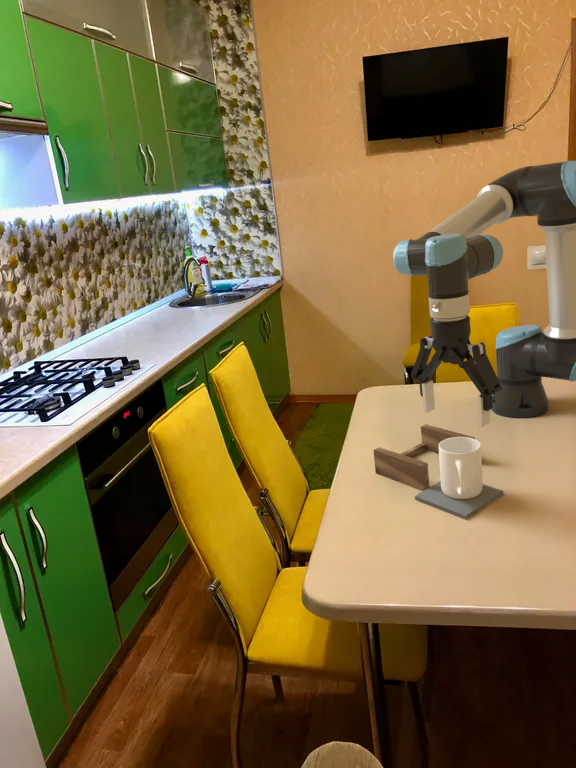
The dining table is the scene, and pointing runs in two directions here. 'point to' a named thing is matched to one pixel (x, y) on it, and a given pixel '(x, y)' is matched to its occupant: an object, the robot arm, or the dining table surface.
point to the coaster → (458, 500)
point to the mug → (460, 467)
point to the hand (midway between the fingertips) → (455, 417)
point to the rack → (410, 468)
